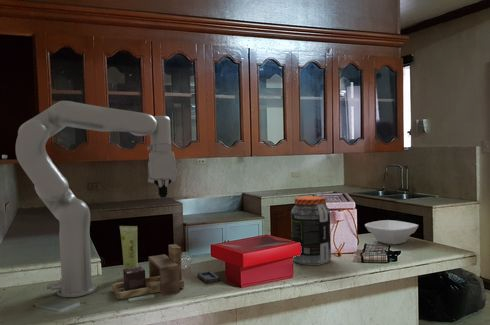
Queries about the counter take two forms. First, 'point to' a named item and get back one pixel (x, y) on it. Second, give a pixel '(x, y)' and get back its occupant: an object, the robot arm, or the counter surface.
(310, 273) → the counter surface
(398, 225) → the bowl
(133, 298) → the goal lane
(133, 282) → the box
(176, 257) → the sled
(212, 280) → the pit tray
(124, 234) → the tube
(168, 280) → the tunnel
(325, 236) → the supplement tub
